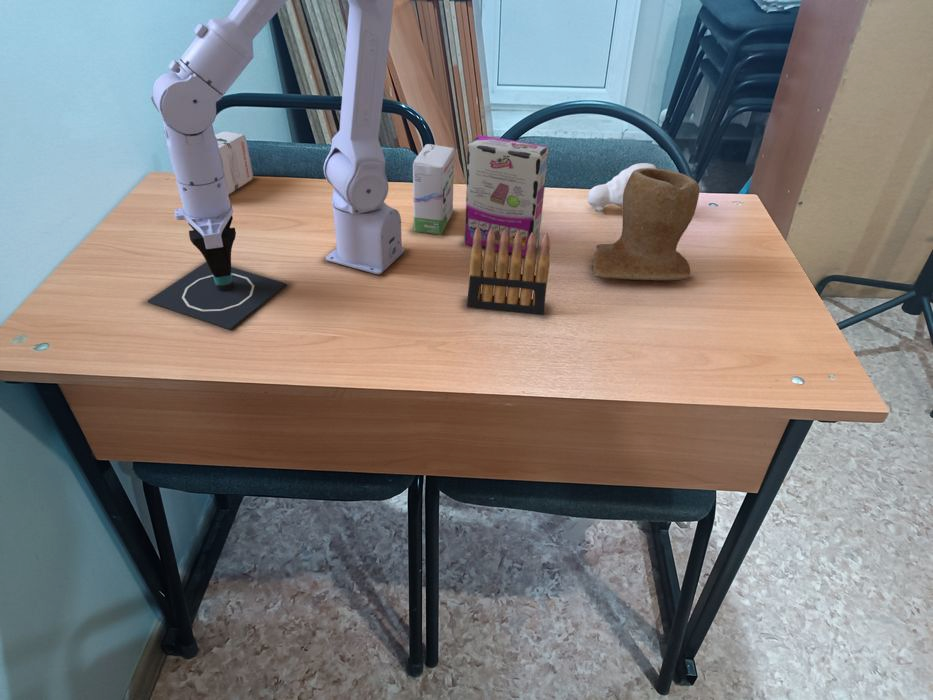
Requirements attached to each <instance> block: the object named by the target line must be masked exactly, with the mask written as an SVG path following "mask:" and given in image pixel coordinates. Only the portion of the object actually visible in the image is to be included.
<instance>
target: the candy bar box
mask: <svg viewBox="0 0 933 700" xmlns="http://www.w3.org/2000/svg"><path fill="white" fill-rule="evenodd" d="M549 150H550V146H548V145H541V144H535V143H531V142H524V141H518V140H513V139H507V138H502V137H501V138H500V137H496V136H495V137H493V136H487V135H482V134H479V135H478V136H476V137H475V138H474V139H473V140H472V141H471V142H470V143H468V145H467V160H466V192H465V193H466V194H465V195H466V196H465V197H466V198H465V199H466V200H465V224H464V225H465V226H464V228H465V229H464V244H465V245H466V246H471V247H472V246H473V238H474V233H475V230H476V228H477V227H479V228H480V231H481V236H482V249H486V241H487V236H488V233H489V231H490V229H491V228H493V230H494V234H495V252H499V245H500V239H501V236H502V233H503V231H504V230H505V229H506V230H507V233H508V239H509V247H508V249H509V252H508V255H512V250H513V243H514V239H515V236H516V233H517V232H518V231H520V233H521V237H522V258H525V254H526V249H527V243H528V239H529V237H530V235H531V233H532V232H534V234H535V238H536V249H537V248H539V247H538V246H539V244H540V235H541V225H542V217H543V206H544V197H545V187H546V178H547V169H548V161H549V160H548V159H549Z"/></svg>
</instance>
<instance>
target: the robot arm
mask: <svg viewBox="0 0 933 700" xmlns="http://www.w3.org/2000/svg"><path fill="white" fill-rule="evenodd" d="M346 1H347V3H348V19H347V32H346V43H345V56H344V69H343V81H342V92H341V94H342V95H341V106H340V120H339V129H338V130H337V132H336V134H335V135H334V136H333V137H332V139H331V145H330V151H329V152H328V155H327V156H326V158H325V159H324V163H323V175H324V177H325V180H326V181H327V182H328V183H329V184H330V185H331V186H332V189H333V192H332V196H331V205H332V215H333V225H334V233H335V235H334V236H335V244H336V248H335V249H334V250H333V251H331V252H330V253H329V254H327V255H326V256H325V260H326V261H327V262H331V263H333V264H337V265H342V266H346V267H349V268H353V269H355V270H360V271H364V272H366V273H371V274H374V275H378V276H379V275H381V274H383V272H385V271H386V270H387V269H389V267H390V266H391V265H392V264H393V263H395V261H396V260H397V259H399V258H400V257H401V256H402V255H403V254H404V253H405V248H403V244H402V218H401V217H402V216H401V214H400V212H399V210H398V209H395V208H393V207H392V206H390V205H388V204H387V203H386V202H385V201H386V199H387V198H388V193H389V182H388V178H387V175H386V171H385V170H386V157H385V155H384V152H383V149H382V146H381V143H380V140H379V138H380V129H381V128H380V127H381V122H382V121H381V120H382V110H383V101H384V93H385V85H386V77H387V75H386V74H387V66H388V58H389V48H390V41H391V39H390V38H391V32H392V31H391V30H392V22H393V13H394V5H395V0H346ZM287 2H288V0H238V2H237V3H236V5H235V6H234V7H233V9H232V10H231V12H230V13H229V15H228V16H226V17H218V18H217V17H214V18H210V19H209V20H208V22H207V23H206V24H205V25H204V24H203V23H202V22H198V24H197V25H196V26H195V28H194V29H193V33H194V34H195V35H196V37H195V38H194V40H193V41H192V42H191V43H190V44H189V46H188V47H187V49H186V50H185V51H184V53H183V54H182V55H181V56H180V57H179V59H178V60H177V61H176V60H175V59H172V61H171V62H170V63H169V64H168V68H169V69H170V70H169V71H168V72H164V73H162V74H161V75H160V76H158V77H157V79H156V80H155V82H154V84H153V87H152V96H151V97H150V99H151V102H152V104H153V106H154V107H155V109H156V110H157V112H159V113H160V115H161V116H162V118H163V119H162V123H163V132H164V135H165V137H166V148H167V151H168V155H169V159H170V163H171V166H172V171H173V174H174V177H175V181H176V186H177V189H178V194H179V198H180V201H181V205H182V207H180V208H176V209H174V211H173V212H174V218H175V220H176V221H186V222H187V224H188V225H189V226H190V227H191V229H192V230H188V237H189V240H190V242H191V244H192V245H193V246H194V247H196V248H197V249H198V251H199V252H200V253H201V255H202V256H203V258H204V260H205V262H207V264H208V266H209V268H210V270H211V272H212V273H213V275H214V277H223V276H229V275H230V274H231V267H232V249H233V244H234V242H235V240H236V235H237V231H236V228H235V227H231V225H232V222H233V214H234V208H233V204H232V202H231V200H230V196H229V195H228V191H227V186H226V181H225V176H224V172H223V167H222V162H221V157H220V152H219V147H218V142H217V138H216V137H215V135H216V134H215V130H214V126H213V125H214V123H215V120H216V117H217V102H218V101H220V100H221V99H223V97H224V96H225V94H227V92H228V90H229V89H230V88H231V87H232V86H233V84H234V83H235V82H236V81H237V79H238V78H239V77H240V75H241V74H242V73H243V72H244V71H245V69H246V68H247V67H248V66H249V64H250V63H251V62H252V60H253V59H254V57H255V56H254V55H255V54H254V46H253V45H254V43H253V42H254V39H255V38H256V37H257V35H259V33H260V32H261V31H263V29H264V28H265V27H266V25H267V24H269V22H270V21H271V20H272V19H273V17H274V16H275V15H276V14H277V13H279V11H280V10H281V9H282V8H283V6H284V5H285V4H286V3H287Z"/></svg>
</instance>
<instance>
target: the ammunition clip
mask: <svg viewBox="0 0 933 700" xmlns="http://www.w3.org/2000/svg"><path fill="white" fill-rule="evenodd" d="M471 247H472V248H471V253H470V258H469V259H470V261H469V278H468V279H469V280H468V281H469V282H468V291H467V301H466V307H467V308H469V309H477V310H479V309H480V310H487V311H488V310H489V311H498V312H499V311H500V312H509V313H517V314H527V315H528V314H529V315H539V316H544V315H545V307H546V297H547V296H546V294H547V286H548V278H549V271H550V250H551V240H550V236H549V233H548V232H546V233H544V236H543V238H542V241H541V244H540V250H539V255H538V259H536V250H537V248H536V238H535V234H534V232H532V233H531V235H530V237H529V239H528V243H527V249H526V254H525V257H522V237H521V233H520V231H518V232H517V233H516V236H515V239H514V243H513V250H512V254H508V252H509V249H508V247H509V239H508V233H507V230H506V229H505V230H504V231H503V233H502V236H501V239H500V245H499V252H498V251H497V252H498V254H497V256H496V251H495V234H494V230H493V228H491V229H490V231H489V233H488V236H487V241H486V249H485V250H484V255H483V248H482V236H481V231H480V228H479V227H477V228H476V230H475V233H474V238H473V246H471ZM509 255H510V256H509ZM523 258H524V259H523ZM536 260H537V261H536Z"/></svg>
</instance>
